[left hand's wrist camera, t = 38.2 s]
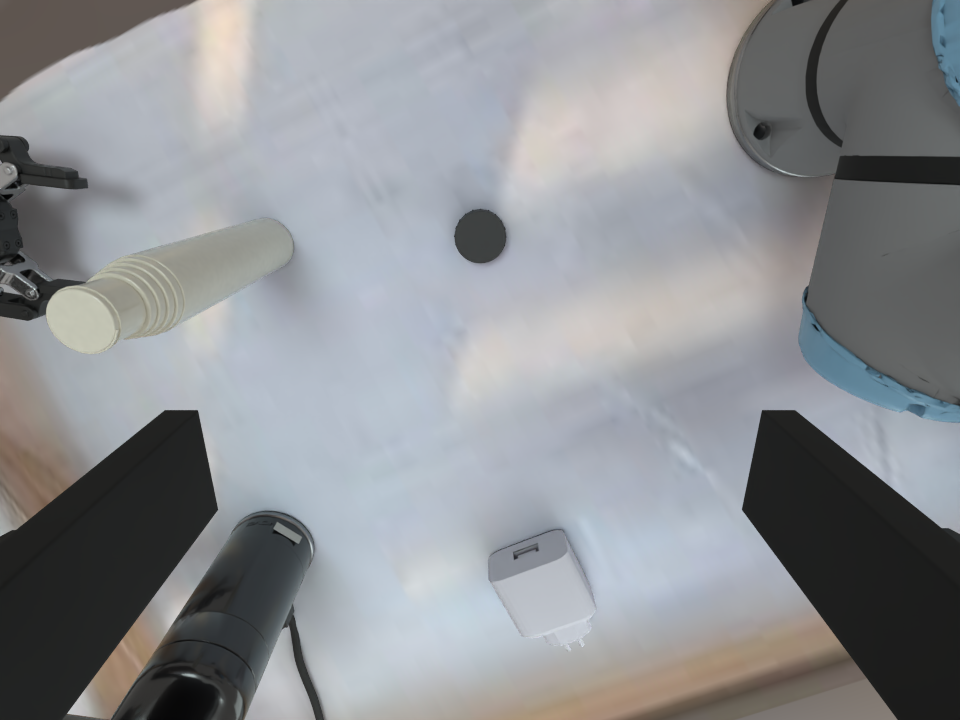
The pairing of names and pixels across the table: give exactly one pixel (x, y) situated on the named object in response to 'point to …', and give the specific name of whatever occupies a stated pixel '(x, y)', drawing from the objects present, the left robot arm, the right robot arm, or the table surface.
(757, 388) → the table surface
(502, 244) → the cap
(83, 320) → the bottle
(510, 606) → the charger
